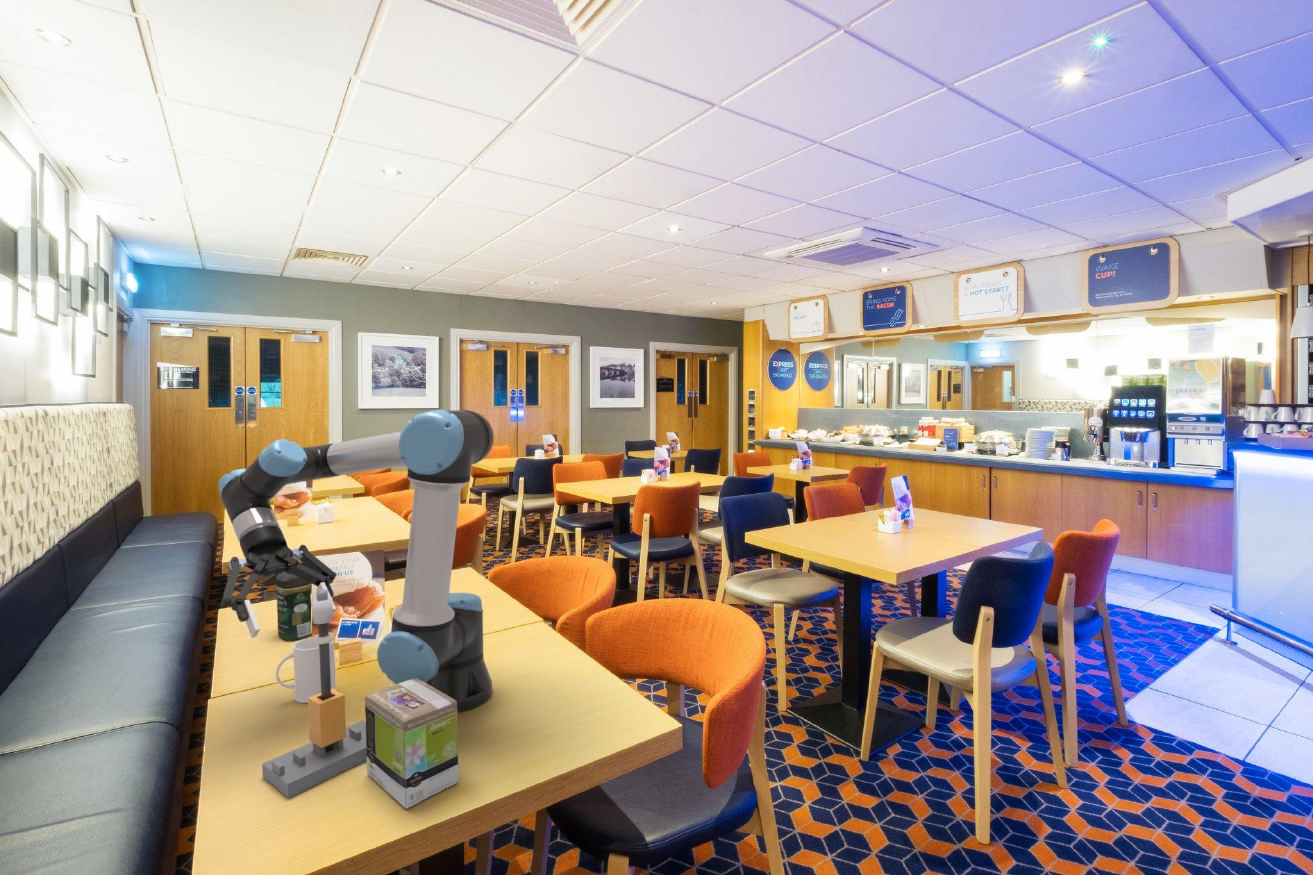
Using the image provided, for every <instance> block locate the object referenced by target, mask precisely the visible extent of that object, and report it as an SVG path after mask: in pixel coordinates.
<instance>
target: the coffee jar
mask: <svg viewBox="0 0 1313 875" xmlns="http://www.w3.org/2000/svg"><path fill="white" fill-rule="evenodd" d="M311 589H312V584H311V583H309V582H307V581H305V580H303V579H301V578H299V577H297V576H295V575H293V574H288V573H286V572H282V573H281V574H277V576H276V577H275V592H276V608H277V609H276V610H277V611H276V612H277V635H278V636H279V637H280V638H281V639H283V640H285V641H288V640H289V641H296V640H297V639H299V640H302V639H301V638H303V639H306V638H307V637H309V636H311V635H312V634H311V607H312V594H311V593H312V592H311V591H312V590H311ZM310 634H311V635H310Z"/></svg>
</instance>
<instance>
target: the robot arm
mask: <svg viewBox="0 0 1313 875" xmlns="http://www.w3.org/2000/svg"><path fill="white" fill-rule="evenodd" d="M494 440H495V435H494V429H493V428H492V425H491V423H490V422H489V420H488V419H487V418H486V417H485V416H484V415H482V414H481V413H479V412H476V411H473V410H469V409H460V410H457V409H456V410H449V409H446V410H444V409H442V410H439V409H435V410H430V411H426V412H421V413H418V414H417V415H415V416H414V417H412V418H411V419H409V420H408V421H407V423H406V424H405V425H404V426H403V429H402V430H401V431H397V432H392V433H385V434H380V435H373V436H369V437H363V438H357V439H351V440H346V441H339V442H334V443H326V444H321V445H314V446H306V447H301V446H300V445H299V444H298V443H296V442H294V441H292V440H291V441H289V440H287V439H285V438H282V439H277V440H274V441H273V442H272V443H270V444H269V445H268V446H267V447H266V448H264V449H263V450H262V451H261V452H260V454H259V455H258V456H257V457H256V458H255V459H254V461H253V462H252V463H251V464H250V465H249V466H248V467H247V468H238V469H234V470H232V471H230V473H226V474H224V475H223V476H222V477H221V478H220V479H219V482H218V490H219V495H220V499H221V502H222V503H223V505H224V508H225V510H226V513H227V515H228V518H229V520H230V523H231V525H232V528H233V530H234V533H235V536H236V538H237V541H238V542H239V546H240V549H241V551H242V554H243V557H244V558H239V557H237V556H232V557H231V558H230V561H229V563H228V564H227V565H228V566H227V568H228V572H229V575H228V578H227V582H226V585H225V588H224V592H223V596H222V598H221V602H220V607H221V608H222V609H226V608H231V610H232V611H234V612H235V613H236V616H237V618H238V620H239V622H240V623H242V622H245V624H246V625H247V629H248V632H249V634H250V637H251V638H252V639H254V638H257V637H258V635H259V632H260V630H261V627H260V625H259V622H258V618H257V617H256V614H255V611H254V609H253V605H252V604H251V601H250V599H246V598H247V597H248V594H249V593H250V592H251V590H252V588H253V586H254V585H255V583H256V582H257V580H258V579H259V577H260V576H264V577H271V576H272V575H279V574H281V573H282V572H286V573H288V574H293V575H295V576H297V577H299V578H301V579H303V580H305V581H307V582H309V583H311V585H314V586H315V587H317V589H316V592H317V591H319V590H328V596H329V597H332V598H333V597H334V595H335V594H334V591H333V588H332V586H331V584H332V583H333V582H334V581H335V579H336V577H337V573H336V572H335V571H333V570H332V569H331V568H330V567H329V566H328V565H326V564H325V563H323V562H322V561H321V560H320V558H319V559H318V557H316V556H315V555H313V554H312V553H311V551H309V549H308V547H307V546H306V545H305V544H301V545H299V548H294V549H291V548H290V547H289V546H288V543H287V541H286V538H285V536H284V533H283V531H282V529H281V528H280V523H279V522H278V519H277V517H276V515H275V512H274V510H273V508H272V506H271V502H270V501H271V500H272V499H273V498H274V497H276V495H278V493H280V492H281V490H282V489H283V488H284V487H285V486H287V485H291V484H297V483H302V482H308V481H313V480H315V481H316V480H321V479H329V478H335V477H339V476H345V475H351V474H357V473H364V472H365V473H366V472H370V471H378V470H384V469H390V468H397V467H404V466H405V467H407V479H408V480H409V481H410V482H411V484H412V485H413V486H414V489H413V500H412V507H411V509H412V510H411V518H410V519H411V520H410V526H409V528H410V529H409V539H408V547H407V556H406V567H405V574H404V575H405V576H404V583H403V584H404V586H403V596H402V604H401V603H400V605H399V606H397V607H396V608H395V609H394V610H393V614H392V618H391V619H392V620H391V628H390V629H391V630H390V632H389V633H387V634H386V636H384V637H383V639H382V640H380V643H379V645H378V647H377V652H376V656H377V657H376V658H377V663H378V665H379V668H380V670H381V672H382V673H383V674H385V676H386V677H387V679H388V680H390V681H391V682H392V683H393V684H394V685H396V684H399V683H402V682H405V681H407V680H410V679H413V678H418V679H419V680H421V681H423V682H425V683H427V684H428V685H430V686H432V687H434V688H435V689H437V690H439V691H440V692H442V693H444V694H446V695H448V696H449V697H451V698H453V699H454V700H456V701H457V713H459V712H463V711H467V710H470V709H473V708H476V707H478V706H481V705H482V704H484V703H485V702H487V701H488V700H489V699H490V698H491V696H493V680H492V678H491V675H490V672H489V670H488V668H487V664H486V661H485V660H484V659H485V658H484V619H483V618H484V617H483V616H484V615H483V613H484V609H483V603H482V602H483V601H482V598H481V597H480V596H479V595H477V594H475V593H470V592H469V593H468V592H450V587H451V579H452V570H453V563H454V555H455V554H454V553H455V552H454V551H455V543H456V537H457V536H456V535H457V534H456V533H457V528H458V527H457V526H458V525H457V524H458V519H459V518H458V516H459V508H460V499H461V490H462V489H463V488H465V486H466V485H467V484H469V483H470V482H471V473H472V472H471V471H472V466H473V465H475V464H478V463H479V462H481V461H483V460H484V459H485V458H487V456H488V455H489V454H490V453H491V450H492V448H493V445H494ZM295 558H296V559H295ZM299 561H300V562H301V563H300V562H299ZM289 565H290V566H289ZM244 566H245V567H246V568H248V569H250V570H252V572H251V573H250V575H249V577H248V578H247V580H246V582H245V583H244V585H243V586H242V587H241V590H240V591H239V593H238V594H237V596H233V594H234V591H235V588H236V583H237V579H238V576H239V573H240V571H242V569H243V567H244ZM336 610H337V608H336V606H335V603H334V602H333V614H334V613H335V611H336ZM489 697H490V698H489ZM480 704H481V705H480Z"/></svg>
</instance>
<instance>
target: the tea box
mask: <svg viewBox="0 0 1313 875" xmlns="http://www.w3.org/2000/svg"><path fill="white" fill-rule="evenodd" d="M364 696H365V697H364V702H365V703H364V710H365V711H364V712H365V722H366V749H367V761H366V773H367V775H368V776H369V777H370V778H371V779H372V780H373V781H375V782H376V783H377V784H378V785H379V786H380V787H381V788H382V789H384V791H386V792H387V793H388V794H389V795H390V796H391V797H392V798H393V799H394V800H395V801H396V802H398V803H399V804H400V805H401V806H402V807H403V808H404V809H407V810H408V809H409V808H411V807H414V806H415V805H418V804H420V803H422V802H424V801H426V800H428V799H429V798H428V797H430V796H432V795H434V794H436V795H438V794H439V793H438V792H440V791H442V790H443V791H445V790H446V789H445V788H447V789H449V788H451V787H453V786H455V785H457V784H458V783H459V745H458V744H459V742H458V740H459V738H458V737H459V736H458V733H459V732H458V730H459V729H458V728H459V727H458V712H457V701H456V700H454V699H453V698H451V697H449V696H448V695H446V694H444V693H442V692H440V691H439V690H437V689H435V688H434V687H432V686H430V685H428V684H427V683H425V682H423V681H421V680H419V679H418V678H413V679H410V680H407V681H405V682H402V683H399V684H394V685H390V686H388V687H385V688H382V689H379V690H376V691H373V692H370V693H367V694H365V695H364ZM456 783H457V784H456ZM454 784H455V785H454ZM452 785H453V786H452ZM450 786H451V787H450ZM448 787H449V788H448ZM444 789H445V790H444ZM443 791H442V792H443ZM437 793H438V794H437ZM440 793H441V792H440ZM434 796H435V795H434ZM432 797H433V796H432ZM427 798H428V799H427ZM430 798H431V797H430ZM425 799H426V800H425ZM423 800H424V801H423ZM421 801H422V802H421Z"/></svg>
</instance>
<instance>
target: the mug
mask: <svg viewBox="0 0 1313 875" xmlns="http://www.w3.org/2000/svg"><path fill="white" fill-rule="evenodd" d="M314 637H315V636H311V637H308V638H307V637H306V638H303V639H300V640H298V641H297V642H295V643H294V644H293V648H292V649H293V651H292V652H291V653H288V654H287V655H285V656H284V657H283V658H282V660H280V662H279V663H278V665H277V667H276V670H275V678H276V681H277V683H278V684H279V685H280V686H282V687H283V688H286V689H289V690H290V689H292V690H293V689H294V696H293V699H294V701H295V702H297V703H300V704H308V697H311V696H314V695H317V694H319V693H321V679H320V654H319V644H315V641H314ZM329 652H330V677H331V689H334V690H336V691H338V687H337V683H336V680H337V679H336V663H335V662H336V661H335V660H336V659H335V658H336V655H335V654H336V652H335V639H334V637H333V641H331V642H329ZM291 659H293V669H294V670H293V671H294V672H293V673H294V682H292V683H286V682H284V681H282V680H281V679H280V676H279V672H280V669H281V667H282V665H283V664H284V663H285V662H286V661H288V660H291Z"/></svg>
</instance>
